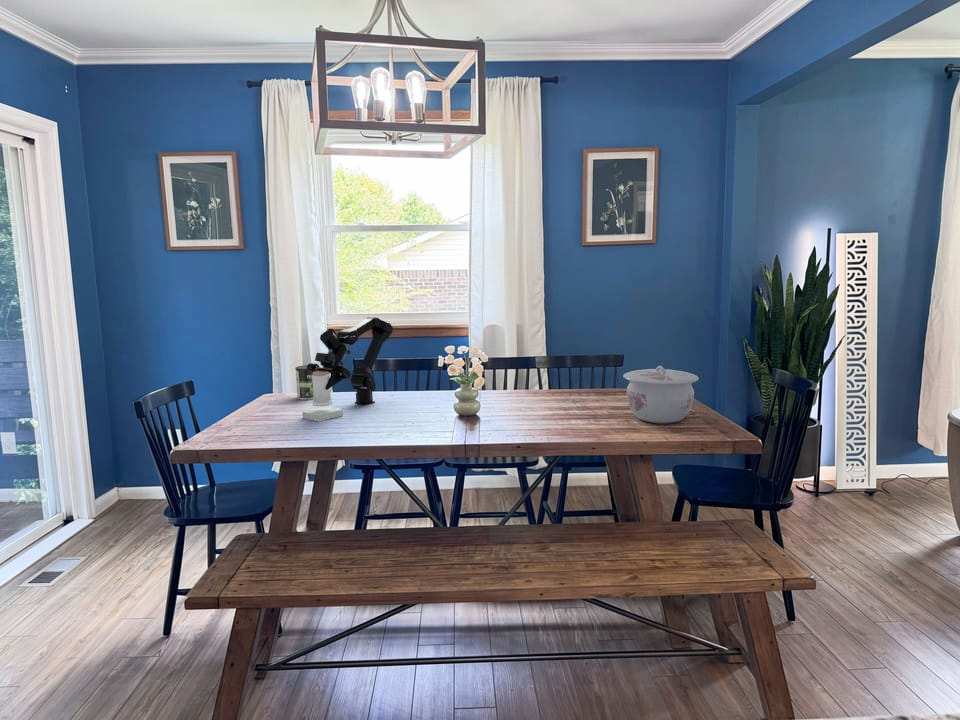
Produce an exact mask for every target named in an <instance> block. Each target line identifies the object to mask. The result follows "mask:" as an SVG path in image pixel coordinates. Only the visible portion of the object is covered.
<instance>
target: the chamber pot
mask: <svg viewBox="0 0 960 720" xmlns="http://www.w3.org/2000/svg"><path fill="white" fill-rule="evenodd" d="M622 376H623V378H624V379H625V380H628V381H629V383H628V385H627V387H626V397H627V403H628V406H629V408H630V410H631V412H632V413H633V415H634V416H635V417H636V418H637V419H639V420H642V421H643V422H646V423H651V424H660V425H664V424H665V425H666V424H667V425H668V424H673V423H677V422H680V421H682V420H683V419H684V418H685V417H686V416H687V415H688V414H689V412H690V410H691V409H692V407H693V403H694V399H695V389H694V388H693V386H692V384H693V383H696V382H697V381H699V377H698V375H696V374H693V373H690V372H687V371H683V370H675V369H668V368H667V369H665V368H664V367H663V366H662V365H658V366H657V367H656V368H647V369H646V368H645V369H637V370H632V371H628V372H625V373H624V374H623V375H622Z"/></svg>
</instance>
